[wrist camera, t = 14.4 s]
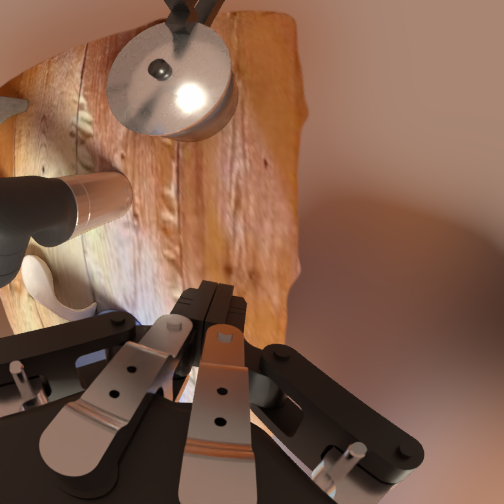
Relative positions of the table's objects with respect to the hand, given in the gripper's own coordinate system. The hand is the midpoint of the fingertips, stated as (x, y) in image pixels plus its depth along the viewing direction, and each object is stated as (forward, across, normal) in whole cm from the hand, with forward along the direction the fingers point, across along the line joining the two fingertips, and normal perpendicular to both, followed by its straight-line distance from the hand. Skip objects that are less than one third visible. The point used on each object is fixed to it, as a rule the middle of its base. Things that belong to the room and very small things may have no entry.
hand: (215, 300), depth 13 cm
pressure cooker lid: (+22, +12, -21) cm, 33 cm away
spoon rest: (+36, +42, +25) cm, 60 cm away
